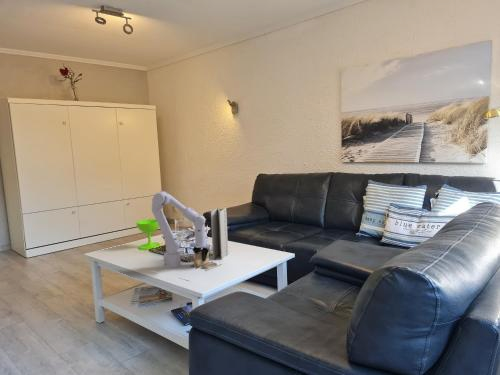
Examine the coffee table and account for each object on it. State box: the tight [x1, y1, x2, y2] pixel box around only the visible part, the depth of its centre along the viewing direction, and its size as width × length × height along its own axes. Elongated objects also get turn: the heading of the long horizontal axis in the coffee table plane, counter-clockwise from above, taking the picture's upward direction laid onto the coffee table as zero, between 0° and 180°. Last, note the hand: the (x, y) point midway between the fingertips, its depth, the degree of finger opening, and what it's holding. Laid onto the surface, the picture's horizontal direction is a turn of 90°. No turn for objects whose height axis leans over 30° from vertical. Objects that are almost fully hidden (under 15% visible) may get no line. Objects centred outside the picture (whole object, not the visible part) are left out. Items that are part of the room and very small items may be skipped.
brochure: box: [210, 207, 229, 260], centre depth 222 cm, size 14×6×30 cm, turn 168°
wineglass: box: [136, 218, 163, 251], centre depth 254 cm, size 16×16×18 cm
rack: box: [190, 261, 222, 272], centre depth 205 cm, size 12×15×2 cm
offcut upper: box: [201, 261, 218, 270], centre depth 204 cm, size 4×8×1 cm, turn 150°
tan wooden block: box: [193, 250, 210, 268], centre depth 207 cm, size 3×9×7 cm, turn 142°
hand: (201, 260), depth 207 cm, fingers closed on tan wooden block, 3 cm apart
